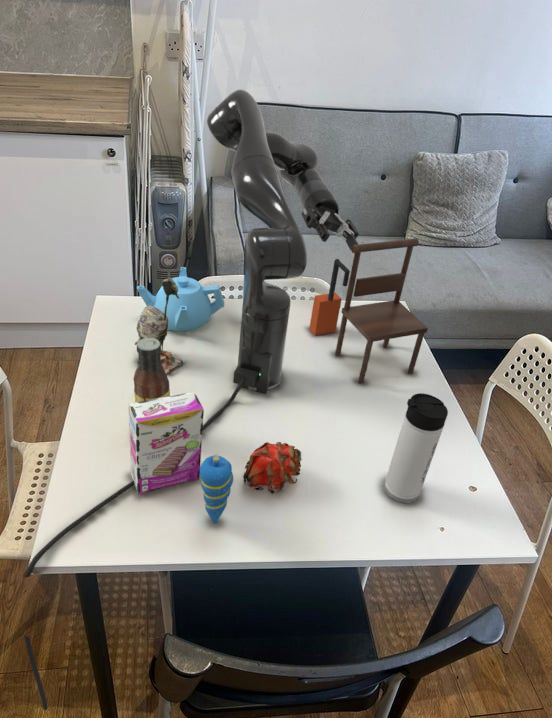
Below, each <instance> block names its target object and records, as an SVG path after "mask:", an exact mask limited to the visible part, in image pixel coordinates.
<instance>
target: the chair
mask: <svg viewBox="0 0 552 718" xmlns="http://www.w3.org/2000/svg"><path fill="white" fill-rule="evenodd" d="M419 244H420V241H419V239H418V237H417V238H416V237H415V238H405V239H397V240H386V241H379V242H368V243H358V245H352V247H351V250H350V251H351V253H352V254H354V255H353V260H352V266H351V270H350V274H349V279H348V284H347V291H346V296H345V301H344V307H341V308H342V309H341V314H342V316H341V322H340V326H339V331H338V337H337V340H336V341H337V342H336V348H335V352H334V356H336V357H340V356H341V354H342V348H343V343H344V339H345V334H346V329H347V324H348V322H350V324H351V325H352V326H353V327H354V328H355V329H356V330H357V331H358V332H359V333H360V334H361V335H362V336H363V337H364V338H365V340H366V345H365V350H364V353H363V358H362V363H361V366H360V371H359V376H358V380H357V383H358V384H360V385H363V384H364V383H365V379H366V375H367V369H368V365H369V361H370V357H371V352H372V348H373V345H374V343H375V342H380V341H383V343H382V348H384V349H387V348H388V347H389V343H390V340H391V339H398V338H403V337H409V336H415V335H417V337H416V340H415V344H414V346H413V347H414V348H413V351H412V355H411V359H410V362H409V365H408V367H407V374H408V375H413V374H414V371H415V367H416V364H417V361H418V357H419V353H420V350H421V347H422V343H423V340H424V338H425V337H424V336H425V334H427V333H428V329H429V328H428V326H426V325H425V324H424V322H422V321H421V319H419V318H418V317H417V316H416V315H415V314H413V313H412V312H411V311H410V310H409V309H408V308H407V307H406V306H405V305H403V304H402V302H400V301H401V296H402V293H403V288H404V285H405V281H406V278H407V273H408V269H409V265H410V262H411V259H412V254H413V250H414V247H418V246H419ZM403 248H406V250H405V254H404V258H403V262H402V265H401V271H400V272H399V273H391V274H383V275H376V276H368V277H359V278H357V274H358V269H359V263H360V259H361V254H362V253H369V252H375V251H376V252H377V251H386V250H394V249H403ZM393 292H395V295H394V298H393V299H394V300H393V299H392V300H387V301H380V302H373V303H367V304H360V305H359V304H358V305H352V306H351V304H352V300H353V297H354V298H357V297H365V296H372V295H377V294H384V293H385V294H386V293H393Z"/></svg>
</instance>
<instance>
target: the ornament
mask: <svg viewBox="0 0 552 718" xmlns="http://www.w3.org/2000/svg"><path fill="white" fill-rule="evenodd" d="M199 478H200V480H201V482H200V486H201V489H202V491H203V500H204V502H205V506H204V508H205V511H206V513H207V515H208V517H209V518H210V521H211V523H213V524H217V523H218V522H219V520H220V518H221V516H222V515H223V513H224V511H225V509H226V507H227V505H228V499H229V497H230V496H231V491H232V486H233V483H234V473H233V467H232V464H231V462H230V461H229V460H228V459H227V458H225V457H223V456H222V455H210V456H207V457H206V458H205V459H204V460H203V461H202V463H201V464H200V477H199Z"/></svg>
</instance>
